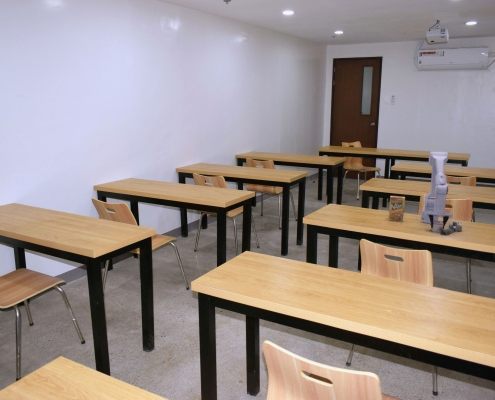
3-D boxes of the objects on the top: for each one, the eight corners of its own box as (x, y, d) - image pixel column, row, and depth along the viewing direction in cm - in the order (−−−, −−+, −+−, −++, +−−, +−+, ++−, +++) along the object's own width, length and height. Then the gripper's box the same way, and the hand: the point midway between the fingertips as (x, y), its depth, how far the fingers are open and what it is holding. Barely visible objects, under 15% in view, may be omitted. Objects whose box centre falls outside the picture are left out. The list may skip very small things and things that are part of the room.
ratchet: (436, 233, 247) (437, 225, 246) (451, 227, 259) (452, 219, 258) (449, 236, 242) (450, 227, 241) (463, 230, 254) (464, 222, 253)
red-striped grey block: (432, 231, 250) (433, 222, 249) (431, 229, 255) (432, 220, 254) (442, 232, 249) (443, 223, 248) (441, 230, 254) (442, 221, 253)
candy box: (388, 220, 274) (390, 196, 271) (388, 219, 278) (390, 195, 275) (402, 222, 271) (405, 198, 268) (403, 220, 275) (405, 196, 272)
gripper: (426, 205, 247) (424, 228, 250) (454, 207, 243) (451, 231, 246) (425, 203, 254) (423, 225, 257) (452, 205, 249) (450, 228, 252)
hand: (437, 228), depth 252 cm, fingers closed on red-striped grey block, 5 cm apart
